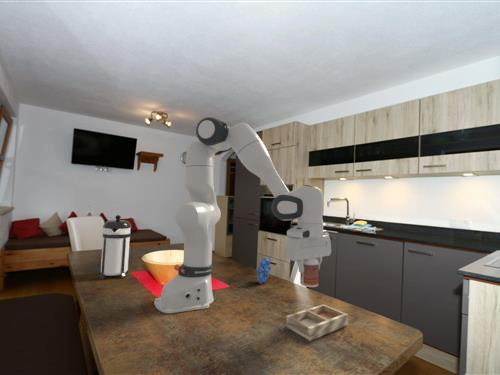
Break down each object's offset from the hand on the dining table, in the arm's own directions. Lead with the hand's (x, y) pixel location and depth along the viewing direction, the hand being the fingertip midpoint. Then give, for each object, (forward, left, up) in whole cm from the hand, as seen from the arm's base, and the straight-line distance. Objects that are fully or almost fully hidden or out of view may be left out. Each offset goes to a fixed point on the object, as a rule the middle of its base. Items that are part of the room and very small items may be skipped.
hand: (309, 270), depth 92 cm
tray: (-1, -5, -17) cm, 17 cm away
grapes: (+12, +40, -17) cm, 45 cm away
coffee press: (-47, +85, -17) cm, 99 cm away
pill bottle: (0, 0, -5) cm, 5 cm away
